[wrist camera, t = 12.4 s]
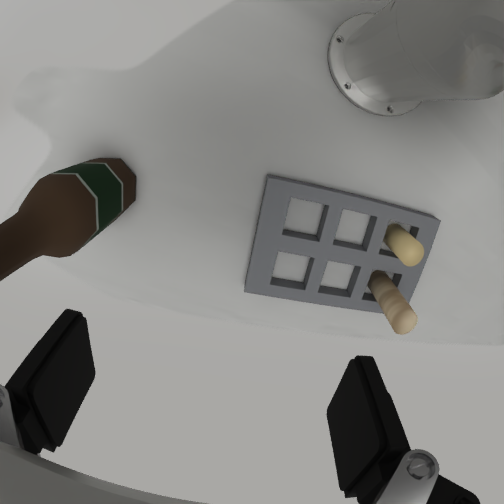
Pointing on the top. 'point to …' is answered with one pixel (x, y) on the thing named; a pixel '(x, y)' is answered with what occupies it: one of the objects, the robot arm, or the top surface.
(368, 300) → the peg board
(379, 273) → the beech pin
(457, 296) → the top surface
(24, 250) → the beer bottle
